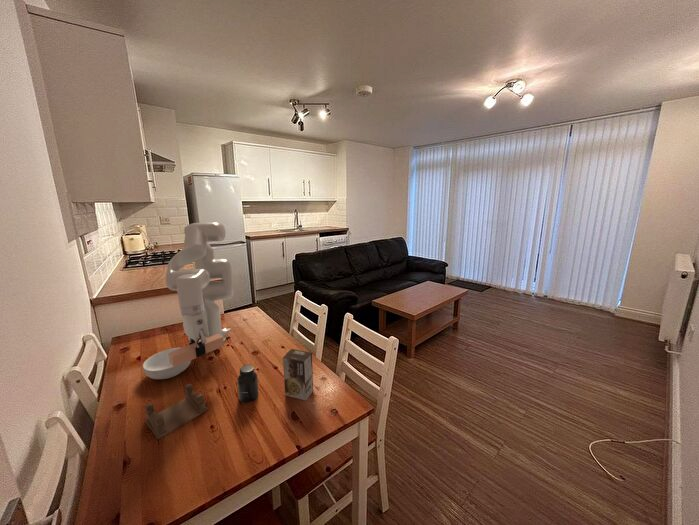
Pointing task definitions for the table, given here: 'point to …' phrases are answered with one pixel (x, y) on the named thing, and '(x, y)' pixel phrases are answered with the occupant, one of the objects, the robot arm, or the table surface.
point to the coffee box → (298, 374)
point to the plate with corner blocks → (175, 413)
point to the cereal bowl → (162, 366)
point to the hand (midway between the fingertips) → (198, 352)
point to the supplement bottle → (247, 384)
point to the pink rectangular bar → (190, 352)
